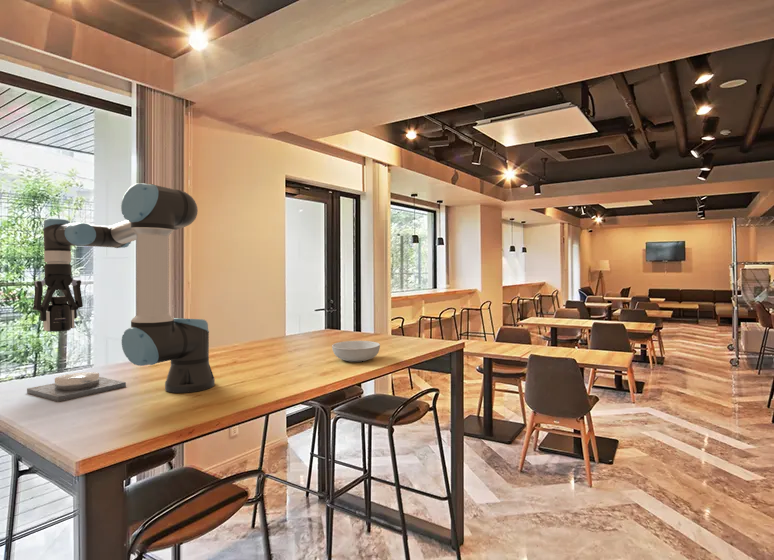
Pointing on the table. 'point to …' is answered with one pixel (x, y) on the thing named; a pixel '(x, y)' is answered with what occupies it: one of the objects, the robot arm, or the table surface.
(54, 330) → the supplement bottle
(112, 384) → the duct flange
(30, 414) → the table surface
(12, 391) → the table surface
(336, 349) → the serving bowl
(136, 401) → the table surface
